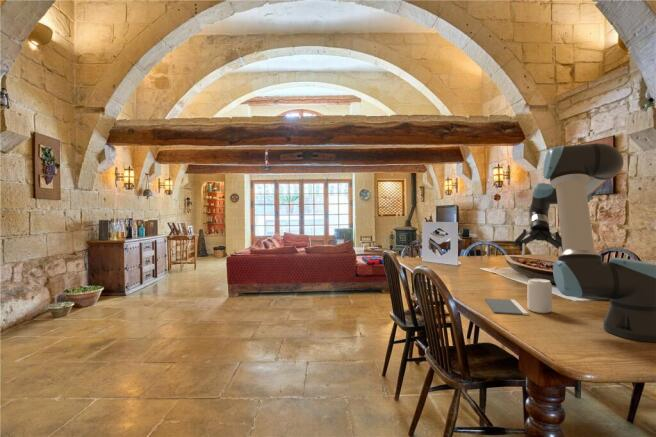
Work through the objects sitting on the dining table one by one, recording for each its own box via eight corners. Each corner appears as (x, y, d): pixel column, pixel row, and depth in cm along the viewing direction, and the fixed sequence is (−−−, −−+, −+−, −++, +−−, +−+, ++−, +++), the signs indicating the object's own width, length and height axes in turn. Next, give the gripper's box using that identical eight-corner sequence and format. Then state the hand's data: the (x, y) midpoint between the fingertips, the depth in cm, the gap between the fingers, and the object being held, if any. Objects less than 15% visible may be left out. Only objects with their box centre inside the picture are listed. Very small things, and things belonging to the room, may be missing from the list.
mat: (528, 315, 125) (528, 313, 125) (493, 313, 128) (493, 311, 128) (514, 301, 144) (514, 299, 144) (484, 299, 147) (484, 298, 147)
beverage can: (531, 313, 127) (531, 282, 126) (524, 307, 135) (524, 278, 134) (555, 314, 125) (555, 282, 125) (547, 308, 133) (546, 278, 132)
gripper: (570, 234, 152) (575, 267, 138) (508, 229, 163) (507, 259, 149) (573, 221, 148) (579, 254, 133) (510, 217, 159) (509, 247, 144)
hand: (541, 257), depth 141 cm, fingers open, 13 cm apart
